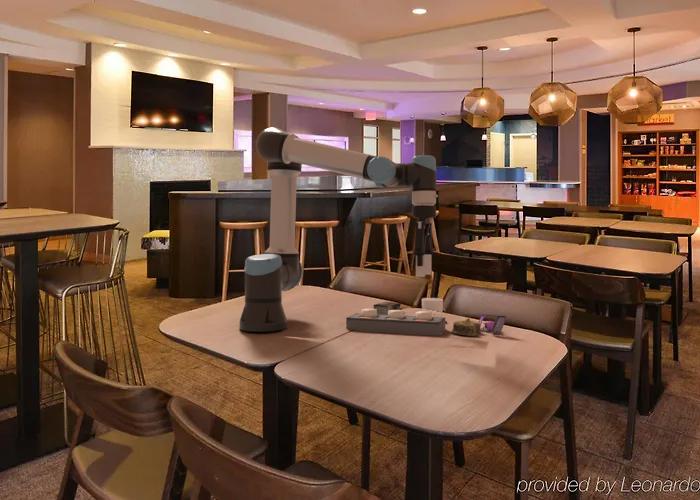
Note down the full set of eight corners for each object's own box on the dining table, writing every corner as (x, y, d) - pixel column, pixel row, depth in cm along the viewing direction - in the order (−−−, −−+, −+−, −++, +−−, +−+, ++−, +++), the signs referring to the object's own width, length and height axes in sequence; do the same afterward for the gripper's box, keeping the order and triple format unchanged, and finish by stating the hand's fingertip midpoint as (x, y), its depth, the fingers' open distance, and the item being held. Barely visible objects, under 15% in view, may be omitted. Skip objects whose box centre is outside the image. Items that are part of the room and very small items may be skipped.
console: (346, 330, 178) (346, 317, 178) (356, 325, 188) (356, 312, 188) (439, 335, 168) (439, 322, 168) (445, 329, 179) (445, 317, 179)
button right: (414, 323, 174) (414, 312, 174) (417, 320, 179) (417, 310, 179) (429, 323, 172) (430, 313, 172) (432, 321, 177) (432, 311, 177)
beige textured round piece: (448, 336, 169) (448, 318, 169) (454, 331, 178) (454, 314, 178) (481, 338, 165) (481, 320, 165) (485, 333, 175) (486, 316, 175)
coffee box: (386, 345, 204) (386, 301, 204) (401, 347, 201) (401, 302, 200) (373, 349, 197) (372, 304, 197) (388, 351, 193) (388, 305, 193)
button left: (359, 320, 180) (359, 310, 180) (364, 317, 184) (364, 308, 184) (374, 320, 178) (374, 310, 178) (378, 318, 183) (378, 309, 183)
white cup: (419, 324, 210) (419, 297, 210) (439, 324, 211) (440, 297, 210) (423, 327, 202) (424, 300, 202) (444, 327, 203) (445, 300, 202)
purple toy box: (498, 332, 170) (473, 330, 177) (505, 341, 173) (480, 339, 180) (505, 314, 174) (480, 312, 180) (512, 323, 176) (487, 322, 183)
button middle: (386, 321, 177) (386, 311, 177) (390, 319, 182) (390, 309, 181) (401, 322, 175) (401, 312, 175) (405, 320, 180) (405, 310, 180)
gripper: (429, 203, 163) (428, 278, 163) (441, 206, 184) (441, 273, 185) (404, 203, 165) (403, 278, 166) (419, 207, 186) (419, 273, 187)
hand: (423, 275), depth 175 cm, fingers open, 10 cm apart
